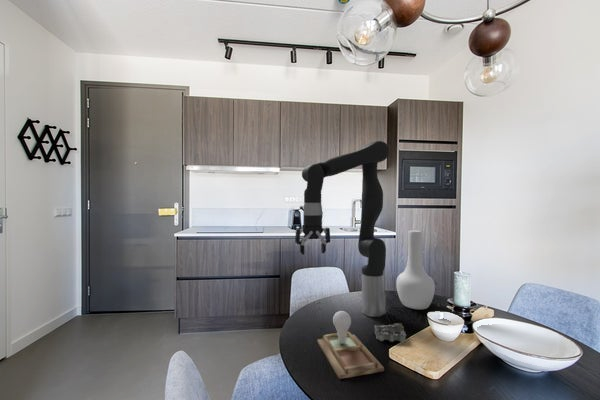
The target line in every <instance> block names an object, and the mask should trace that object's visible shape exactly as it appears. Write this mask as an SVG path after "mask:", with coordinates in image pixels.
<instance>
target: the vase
mask: <svg viewBox="0 0 600 400" xmlns="http://www.w3.org/2000/svg"><path fill="white" fill-rule="evenodd" d="M407 233H408V234H407V237H408V240H407V241H408V242H407V243H408V245H407V246H408V250H407V251H408V252H407V261H406V262H407V263H406V267H405V269H404V270H403V271H402V272H401V273H400V274H398V276H397V278H396V291H397V292H396V293H397V295H398V299H399V300H400V302H401V304H402V305H403V306H405V307H407V308H409V309H413V310H425V309H426V310H427V309H428V308H429V307H430V306H431V304H432V301H433V299H434V297H435V296H434V295H435V291H436V290H435V288H436V285H435V282H434V280H433V278H432V277H431V276H430V275H428V274H427V272H426V270H425V268H424V261H423V231H422V230H414V229H412V230H411V229H409V230H408V232H407Z"/></svg>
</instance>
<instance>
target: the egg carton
mask: <svg viewBox="0 0 600 400" xmlns="http://www.w3.org/2000/svg"><path fill="white" fill-rule="evenodd" d="M373 327H374V335H375V338H376V340H379V341H380V342H384V341H385V340H386V341H389V342H392V343H393V342H394V341H398V342H400V343H404V342H405V341H404V340H406V339H407V335H408V334H406V331H405V330H404V329H405V328H404V326H403V323H399V322H398V323H397V322H395V323H393V324H388V325H384V324H382V325H373Z"/></svg>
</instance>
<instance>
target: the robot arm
mask: <svg viewBox="0 0 600 400" xmlns="http://www.w3.org/2000/svg"><path fill="white" fill-rule="evenodd" d="M389 155H390V147H389V146H388V144H387V143H386V142H384V141H382V140H376V141H373V142H370V143H368V144H365V145H364V146H363V148H362V149H359V150H356V151H353V152H348V153H345V154H341V155H338V156H335V157H332V158H328V159H326V160H323V161H321V162H318V163H313V164H310V165H307V166H305V167H304V168H303V169H302V172H301V177H302V179H303V180H304V181H305V182H306V188H305V189H304V193H303V228H298V227H297V228H295V237H294V238H295V241H294V243H296V244H297V245H299V253H301V255H302V256H304V255H305V244H306V242H307V241H308V240H319V241H320V243H321V244H320V245H321V246H320V250H321V251H320V252H321V254H325V253H326V251H327V244H328V243H330V242H331V232H330V231H331V229H330V227H324V228H323V207H322V190H323V185H324V179H325V178H326V177H327V178H328V177H333V176H336V175H339V174H342V173H344V172H347V171H349V170H352V169H354V168H357V167H360V166H361V169H362V180H361V181H362V182H361V183H362V184H361V185H362V186H361V187H362V189H361V213H360V214H361V215H360V217H361V218H360V227H359V235H358V245H357V247H358V248H357V249H358V252H359V254H360V255H361V256H363V257H364V258H367V264H366V265H362V267H361V313H362V314H363V315H364V316H367V317H371V318H378V317H380V318H381V317H382V316H384V315H386V292H385V291H384V272H385V268H386V258H387V257H386V256H387V248H386V247H387V246H386V243H385V242H384V240H383V239H381V238H377V237H375V226H376V222H377V221H378V219H379V217H380V215H381V213H382V211H383V208H384V206H383V205H384V190H383V188H382V185H381V183H380V180H379V178H378V163H382V162H384V161H386V160H387V159H388V157H389ZM302 233H303V234H304V235H303V236H302V238H301V234H302ZM323 233H324V234H325V235H324V236H325V238H324V237H323V236H322V234H323ZM300 239H301V240H300Z"/></svg>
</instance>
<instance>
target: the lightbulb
mask: <svg viewBox="0 0 600 400" xmlns="http://www.w3.org/2000/svg"><path fill="white" fill-rule="evenodd" d="M332 323H333V325H334V327H335V329H336V333H337V335H338V342H339V343H341V344H344V343H345V342H346V336H347V332H349V331H348V330H349V328H350V327H351V325H352V318H351V316H350V314H349V313H348V312H347V311H344V310H338V311H336V312H335V314H334V315H333V317H332Z"/></svg>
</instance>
